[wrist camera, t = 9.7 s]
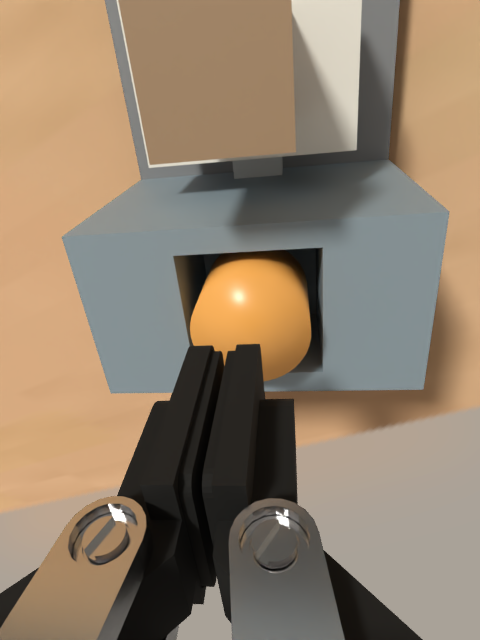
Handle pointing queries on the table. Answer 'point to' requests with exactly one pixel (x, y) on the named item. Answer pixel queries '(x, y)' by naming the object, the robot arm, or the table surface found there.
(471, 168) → the table surface
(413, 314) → the rail bed
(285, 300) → the button
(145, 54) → the carriage
